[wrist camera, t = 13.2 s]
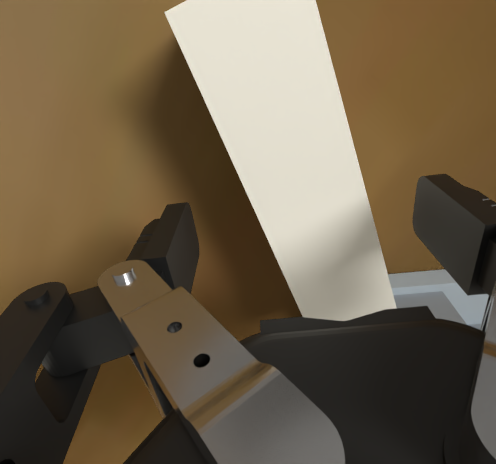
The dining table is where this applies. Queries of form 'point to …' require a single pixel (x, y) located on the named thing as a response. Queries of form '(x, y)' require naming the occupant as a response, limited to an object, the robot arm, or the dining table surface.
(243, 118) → the cream rectangular bar
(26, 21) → the dining table surface
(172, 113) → the dining table surface
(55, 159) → the dining table surface
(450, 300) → the jig
